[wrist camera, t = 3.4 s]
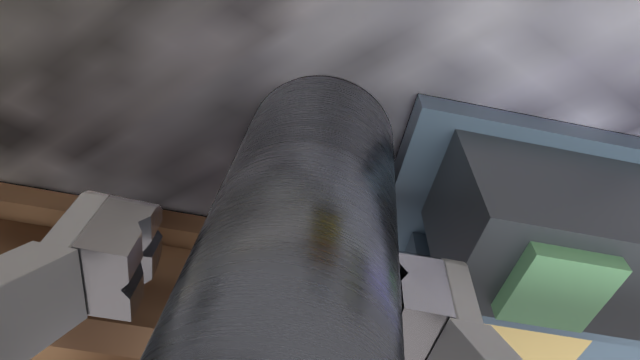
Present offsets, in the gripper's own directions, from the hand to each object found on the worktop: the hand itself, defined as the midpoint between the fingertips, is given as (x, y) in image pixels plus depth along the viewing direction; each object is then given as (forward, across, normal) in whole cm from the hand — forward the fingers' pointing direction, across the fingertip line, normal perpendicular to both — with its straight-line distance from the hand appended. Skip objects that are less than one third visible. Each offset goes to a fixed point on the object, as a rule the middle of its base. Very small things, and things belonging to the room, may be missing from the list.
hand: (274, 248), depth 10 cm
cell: (+4, -1, 0) cm, 4 cm away
